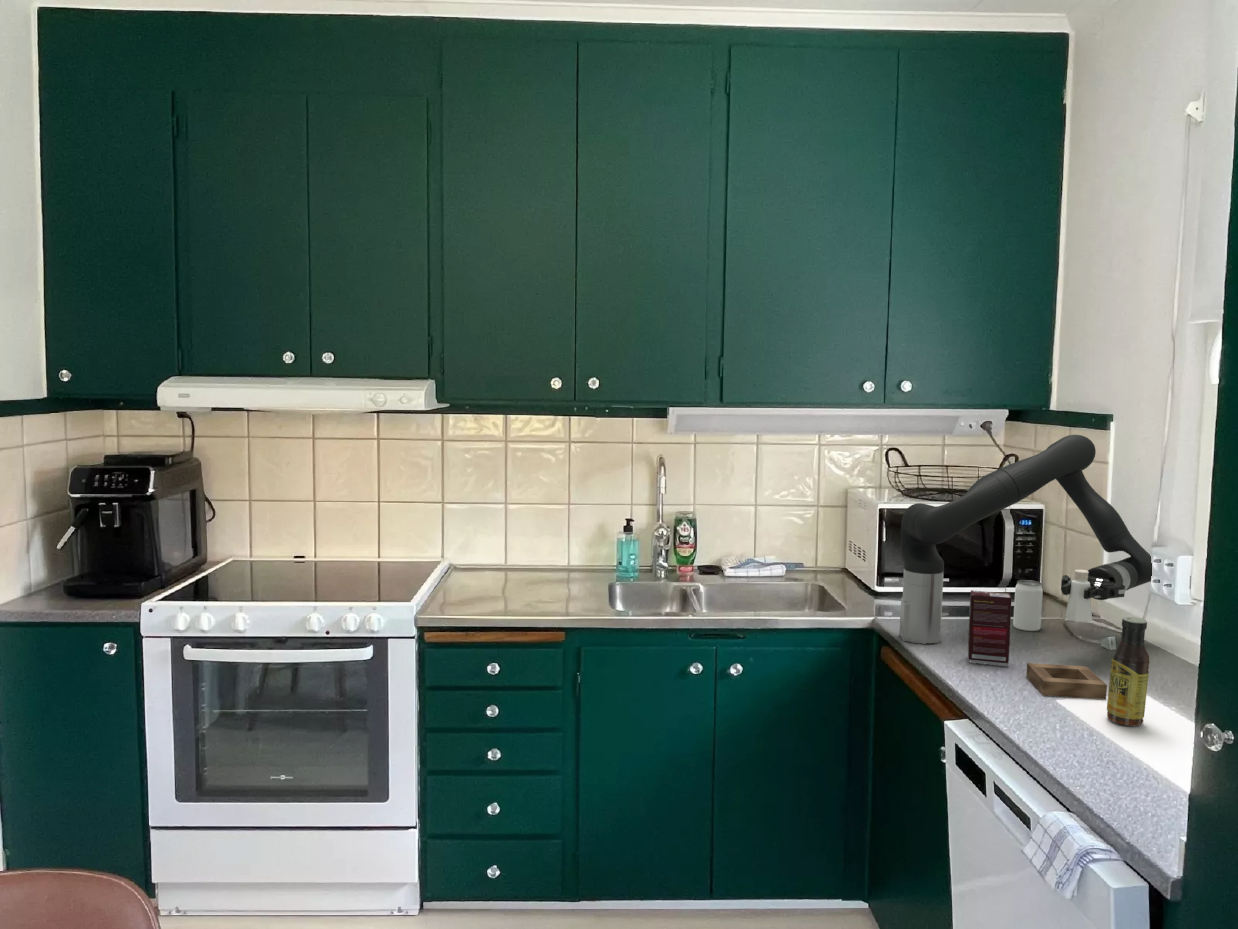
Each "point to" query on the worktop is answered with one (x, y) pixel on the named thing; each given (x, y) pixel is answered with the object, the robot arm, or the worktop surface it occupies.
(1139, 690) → the sauce bottle
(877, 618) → the worktop surface
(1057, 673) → the socket block
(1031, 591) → the can
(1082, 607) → the pepper shaker
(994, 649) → the supplement box
